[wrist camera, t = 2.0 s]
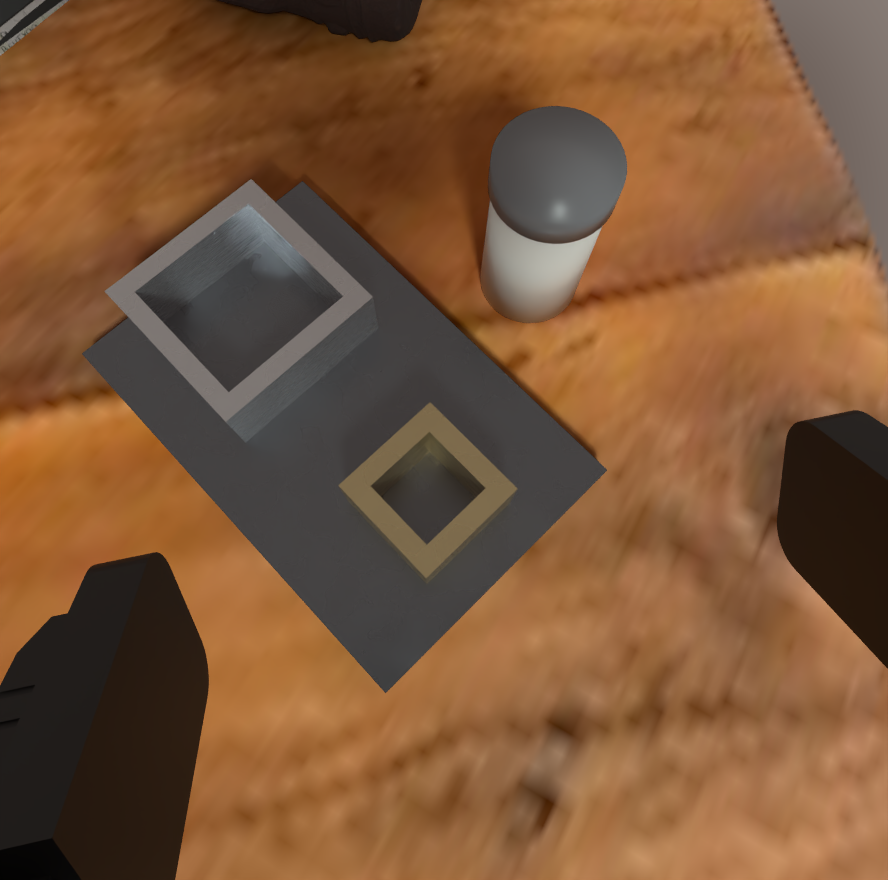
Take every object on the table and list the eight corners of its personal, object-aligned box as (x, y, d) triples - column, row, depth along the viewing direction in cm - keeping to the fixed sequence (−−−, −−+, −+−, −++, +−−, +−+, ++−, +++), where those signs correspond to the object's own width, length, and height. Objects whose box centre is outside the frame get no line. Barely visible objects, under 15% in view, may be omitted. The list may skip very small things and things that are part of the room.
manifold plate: (95, 364, 38) (45, 324, 33) (307, 197, 41) (290, 138, 36) (387, 690, 33) (379, 699, 29) (600, 476, 36) (625, 452, 32)
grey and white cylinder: (455, 277, 39) (462, 160, 30) (526, 215, 41) (556, 83, 31) (529, 346, 38) (561, 248, 29) (601, 280, 40) (655, 165, 30)
